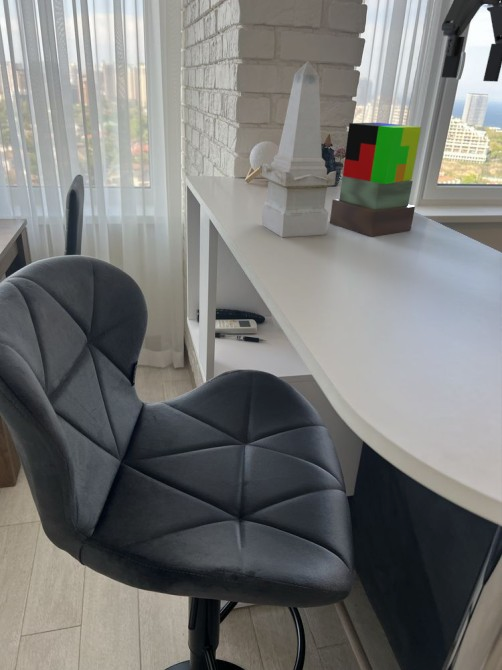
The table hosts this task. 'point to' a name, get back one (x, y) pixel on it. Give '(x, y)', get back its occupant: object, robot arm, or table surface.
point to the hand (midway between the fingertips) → (470, 79)
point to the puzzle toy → (381, 152)
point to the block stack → (373, 207)
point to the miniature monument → (299, 166)
